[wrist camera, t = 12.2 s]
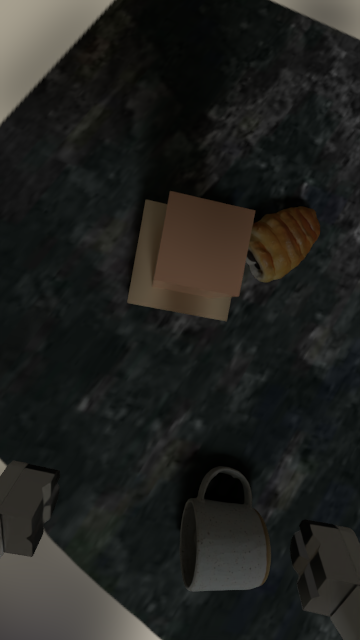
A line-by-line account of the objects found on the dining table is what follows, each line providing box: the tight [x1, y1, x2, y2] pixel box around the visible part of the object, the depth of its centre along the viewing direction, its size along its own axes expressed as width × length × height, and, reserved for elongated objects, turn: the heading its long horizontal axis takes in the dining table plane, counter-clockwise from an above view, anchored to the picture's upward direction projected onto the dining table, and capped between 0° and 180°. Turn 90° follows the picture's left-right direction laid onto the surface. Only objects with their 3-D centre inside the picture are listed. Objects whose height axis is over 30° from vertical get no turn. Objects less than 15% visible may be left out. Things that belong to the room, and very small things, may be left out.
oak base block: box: [127, 200, 231, 321], centre depth 31 cm, size 10×10×4 cm
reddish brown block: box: [152, 191, 255, 298], centre depth 25 cm, size 6×6×9 cm
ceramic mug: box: [180, 466, 271, 591], centre depth 32 cm, size 11×8×8 cm
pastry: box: [246, 206, 320, 282], centre depth 33 cm, size 9×7×4 cm
